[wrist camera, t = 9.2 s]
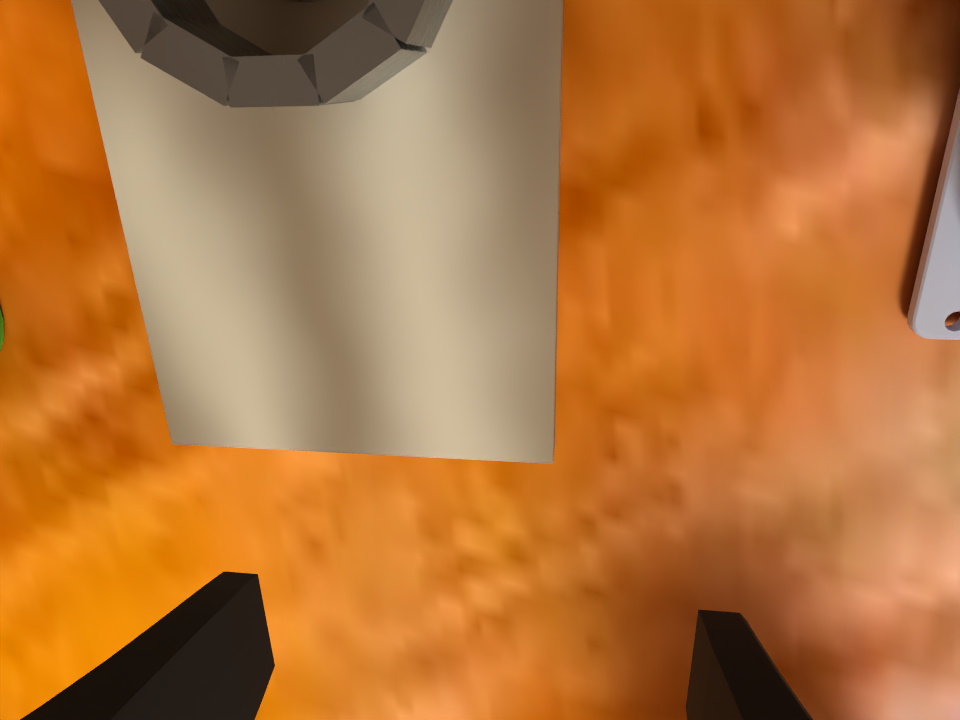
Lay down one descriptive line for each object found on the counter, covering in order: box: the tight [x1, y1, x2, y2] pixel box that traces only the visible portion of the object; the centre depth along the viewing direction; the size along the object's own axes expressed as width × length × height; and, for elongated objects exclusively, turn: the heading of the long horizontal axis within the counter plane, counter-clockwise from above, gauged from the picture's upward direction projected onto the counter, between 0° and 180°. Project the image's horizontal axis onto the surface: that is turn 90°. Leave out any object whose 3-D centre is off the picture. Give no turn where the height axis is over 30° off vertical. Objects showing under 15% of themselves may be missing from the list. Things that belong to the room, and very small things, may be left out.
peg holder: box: [71, 0, 563, 464], centre depth 16 cm, size 12×22×4 cm, turn 1°
